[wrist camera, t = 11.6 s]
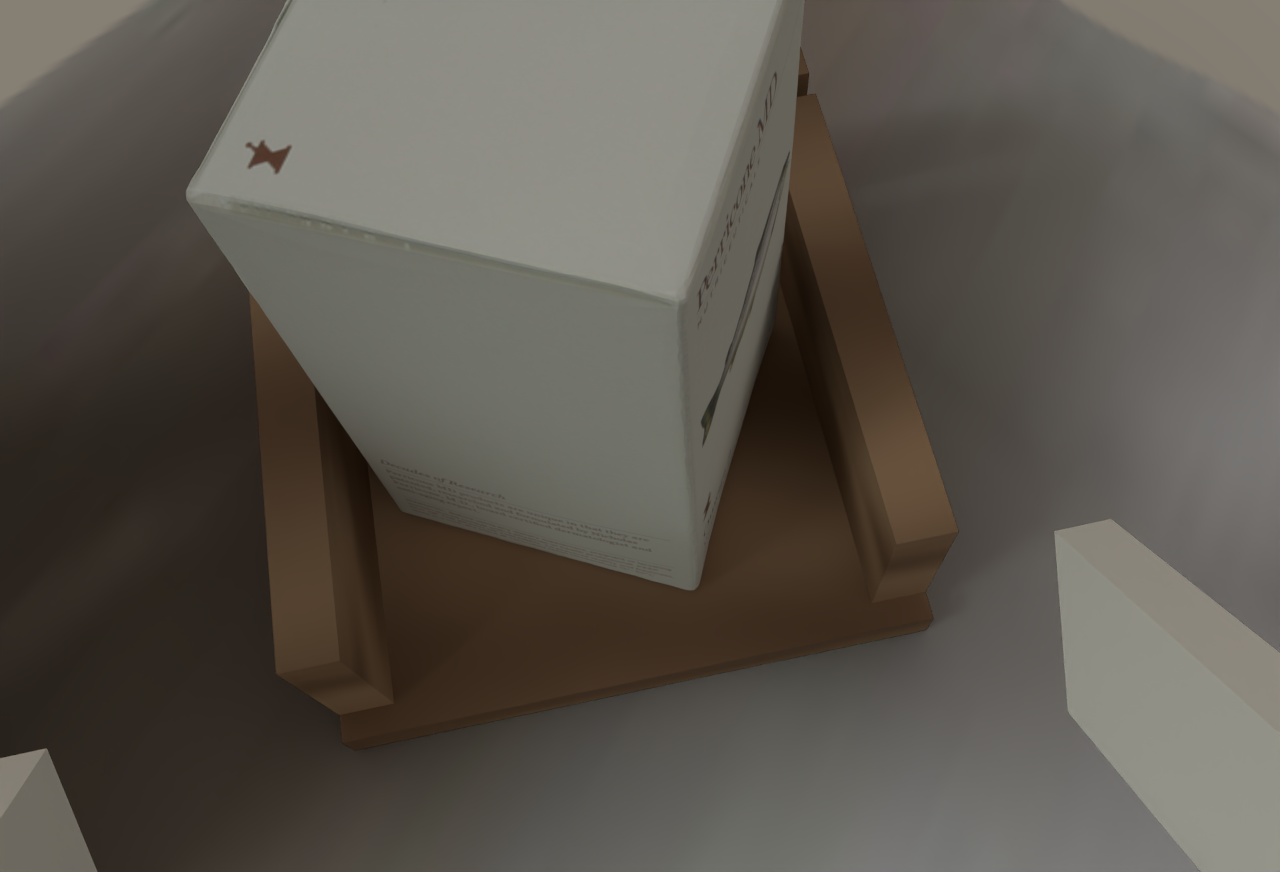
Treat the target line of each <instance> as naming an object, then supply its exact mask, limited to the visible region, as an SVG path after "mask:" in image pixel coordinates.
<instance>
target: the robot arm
mask: <svg viewBox="0 0 1280 872" xmlns="http://www.w3.org/2000/svg"><path fill="white" fill-rule="evenodd" d="M1054 535H1055V549H1056V562H1057V575H1058V588H1059V601H1060V614H1061V628H1062V641H1063V654H1064V667H1065V680H1066V693H1067V707H1068V713H1069V714H1070V715H1071V716H1072V718H1073V719H1074V720H1075V721H1076V722H1077V724H1078V725H1079V726H1080V727H1081V728H1082V730H1083V731H1084V732H1085V733H1086V734H1087V736H1088V737H1089V738H1090V739H1091V740H1092V742H1093V743H1094V744H1095V745H1096V746H1097V748H1098V749H1099V750H1100V751H1101V752H1102V754H1103V755H1104V756H1105V757H1106V758H1107V760H1108V761H1109V762H1110V763H1111V764H1112V766H1113V767H1114V768H1115V769H1116V770H1117V772H1118V773H1119V774H1120V775H1121V776H1122V778H1123V779H1124V780H1125V781H1126V782H1127V784H1128V785H1129V786H1130V787H1131V788H1132V790H1133V791H1134V792H1135V793H1136V794H1137V796H1138V797H1139V798H1140V799H1141V800H1142V802H1143V803H1144V804H1145V805H1146V806H1147V808H1148V809H1149V810H1150V811H1151V812H1152V814H1153V815H1154V816H1155V817H1156V819H1157V820H1158V821H1159V822H1160V823H1161V825H1162V826H1163V827H1164V828H1165V829H1166V831H1167V832H1168V833H1169V834H1170V835H1171V837H1172V838H1173V839H1174V840H1175V841H1176V843H1177V844H1178V845H1179V846H1180V847H1181V849H1182V850H1183V851H1184V852H1185V853H1186V855H1187V856H1188V857H1189V858H1190V859H1191V861H1192V862H1193V863H1194V864H1195V865H1196V867H1197V868H1198V869H1199V870H1200V871H1201V872H1280V653H1279V652H1278V651H1277V650H1276V649H1274V648H1273V647H1272V646H1271V645H1269V644H1268V643H1267V642H1266V641H1264V640H1263V639H1262V638H1260V637H1259V636H1258V635H1257V634H1255V633H1254V632H1253V631H1252V630H1250V629H1249V628H1248V627H1247V626H1245V625H1244V624H1243V623H1242V622H1240V621H1239V620H1238V619H1237V618H1235V617H1234V616H1233V615H1232V614H1230V613H1229V612H1228V611H1226V610H1225V609H1224V608H1223V607H1221V606H1220V605H1219V604H1218V603H1216V602H1215V601H1214V600H1213V599H1211V598H1210V597H1209V596H1208V595H1206V594H1205V593H1204V592H1203V591H1201V590H1200V589H1199V588H1197V587H1196V586H1195V585H1194V584H1192V583H1191V582H1190V581H1189V580H1187V579H1186V578H1185V577H1184V576H1182V575H1181V574H1180V573H1179V572H1177V571H1176V570H1175V569H1174V568H1172V567H1171V566H1170V565H1168V564H1167V563H1166V562H1165V561H1163V560H1162V559H1161V558H1160V557H1158V556H1157V555H1156V554H1155V553H1153V552H1152V551H1151V550H1150V549H1148V548H1147V547H1146V546H1145V545H1143V544H1142V543H1141V542H1140V541H1138V540H1137V539H1136V538H1134V537H1133V536H1132V535H1131V534H1129V533H1128V532H1127V531H1126V530H1124V529H1123V528H1122V527H1121V526H1119V525H1118V524H1117V523H1116V522H1114V521H1113V520H1112V519H1108V520H1103V521H1099V522H1094V523H1089V524H1085V525H1080V526H1075V527H1071V528H1066V529H1062V530H1057V531H1054ZM0 872H97V870H96V867H95V865H94V862H93V860H92V858H91V855H90V853H89V850H88V848H87V845H86V843H85V840H84V838H83V836H82V833H81V831H80V828H79V826H78V823H77V821H76V818H75V816H74V813H73V811H72V809H71V806H70V804H69V801H68V799H67V796H66V794H65V791H64V789H63V787H62V784H61V782H60V779H59V777H58V774H57V772H56V769H55V767H54V765H53V762H52V760H51V757H50V755H49V752H48V750H47V748H46V749H41V750H36V751H32V752H27V753H22V754H18V755H13V756H8V757H4V758H0Z"/></svg>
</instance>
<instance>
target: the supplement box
mask: <svg viewBox="0 0 1280 872" xmlns="http://www.w3.org/2000/svg"><path fill="white" fill-rule="evenodd" d="M804 3H805V0H287V2H286V3H285V5H284V7H283V9H282V11H281V13H280V15H279V17H278V19H277V21H276V23H275V25H274V28H273V30H272V32H271V35H270V36H269V38H268V40H267V42H266V44H265V46H264V48H263V50H262V52H261V53H260V55H259V57H258V59H257V61H256V63H255V65H254V67H253V69H252V71H251V72H250V74H249V76H248V78H247V80H246V82H245V84H244V86H243V88H242V89H241V91H240V93H239V95H238V97H237V99H236V101H235V102H234V104H233V106H232V108H231V110H230V112H229V113H228V115H227V117H226V119H225V121H224V123H223V124H222V126H221V128H220V130H219V132H218V134H217V135H216V137H215V139H214V141H213V143H212V145H211V147H210V149H209V151H208V153H207V154H206V156H205V158H204V160H203V162H202V164H201V165H200V167H199V169H198V170H197V172H196V173H195V175H194V176H193V178H192V179H191V181H190V183H189V186H188V188H187V190H186V200H187V201H188V203H189V204H190V206H191V207H192V209H193V211H194V212H195V214H196V215H197V216H198V218H199V219H200V221H201V222H202V224H203V225H204V227H205V228H206V230H207V231H208V232H209V234H210V235H211V237H212V238H213V240H214V241H215V242H216V244H217V245H218V247H219V248H220V250H221V251H222V252H223V254H224V255H225V257H226V258H227V259H228V261H229V262H230V263H231V265H232V266H233V268H234V270H235V271H236V273H237V274H238V276H239V277H240V279H241V280H242V282H243V283H244V285H245V286H246V288H247V289H248V291H249V292H250V293H251V295H252V296H253V297H254V299H255V300H256V301H257V303H258V304H259V305H260V307H261V309H262V310H263V312H264V313H265V315H266V316H267V317H268V319H269V320H270V322H271V323H272V325H273V326H274V328H275V329H276V330H277V332H278V333H279V335H280V336H281V338H282V339H283V340H284V342H285V343H286V345H287V346H288V348H289V349H290V350H291V352H292V353H293V355H294V356H295V358H296V359H297V361H298V362H299V364H300V365H301V367H302V368H303V370H304V371H305V373H306V374H307V376H308V377H309V379H310V380H311V381H312V383H313V384H314V386H315V387H316V388H317V390H318V391H319V393H320V394H321V396H322V397H323V399H324V400H325V402H326V403H327V404H328V406H329V407H330V409H331V410H332V412H333V413H334V415H335V416H336V417H337V419H338V420H339V422H340V423H341V425H342V426H343V427H344V429H345V430H346V432H347V433H348V434H349V436H350V437H351V439H352V440H353V442H354V443H355V445H356V446H357V448H358V449H359V451H360V452H361V453H362V455H363V456H364V458H365V459H366V461H367V462H368V464H369V465H370V466H371V468H372V469H373V471H374V472H375V474H376V475H377V477H378V478H379V480H380V481H381V483H382V484H383V485H384V487H385V488H386V490H387V491H388V493H389V494H390V495H391V497H392V498H393V500H394V501H395V503H396V504H397V506H398V507H399V509H400V510H401V511H402V512H405V513H408V514H412V515H415V516H418V517H422V518H426V519H430V520H433V521H437V522H440V523H444V524H447V525H450V526H454V527H458V528H462V529H465V530H469V531H473V532H477V533H480V534H484V535H488V536H492V537H495V538H498V539H501V540H505V541H508V542H511V543H515V544H519V545H523V546H527V547H531V548H535V549H538V550H542V551H545V552H549V553H552V554H556V555H559V556H563V557H567V558H571V559H574V560H578V561H582V562H586V563H590V564H593V565H596V566H600V567H603V568H607V569H610V570H614V571H618V572H622V573H626V574H630V575H634V576H638V577H641V578H644V579H647V580H651V581H655V582H659V583H663V584H667V585H671V586H674V587H678V588H681V589H685V590H695V589H696V588H697V587H698V586H699V584H700V579H701V575H702V571H703V566H704V562H705V558H706V553H707V549H708V545H709V540H710V536H711V533H712V529H713V525H714V521H715V517H716V513H717V510H718V506H719V502H720V498H721V494H722V491H723V487H724V484H725V481H726V477H727V474H728V471H729V467H730V464H731V461H732V457H733V454H734V451H735V447H736V444H737V441H738V437H739V434H740V431H741V427H742V424H743V421H744V417H745V414H746V410H747V407H748V404H749V400H750V397H751V394H752V390H753V387H754V384H755V380H756V377H757V374H758V371H759V368H760V365H761V362H762V359H763V356H764V353H765V350H766V347H767V344H768V342H769V339H770V336H771V333H772V330H773V327H774V324H775V321H776V311H777V298H778V289H779V280H780V270H781V260H782V251H783V242H784V231H785V221H786V211H787V200H788V191H789V180H790V169H791V159H792V148H793V137H794V125H795V112H796V99H797V86H798V73H799V59H800V45H801V36H802V25H803V13H804Z"/></svg>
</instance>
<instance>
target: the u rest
mask: <svg viewBox="0 0 1280 872" xmlns="http://www.w3.org/2000/svg"><path fill="white" fill-rule="evenodd" d="M808 79H809V71H808V68H807V65H806V62H805V59H804V56H803V53H802V50H801V47H800V59H799V73H798V86H797V99H796V112H795V125H794V137H793V148H792V159H791V169H790V180H789V191H788V200H787V211H786V221H785V231H784V242H783V251H782V260H781V270H780V280H779V289H778V298H777V311H776V321H775V324H774V327H773V330H772V333H771V336H770V339H769V342H768V344H767V347H766V350H765V353H764V356H763V359H762V362H761V365H760V368H759V371H758V374H757V377H756V380H755V384H754V387H753V390H752V394H751V397H750V400H749V404H748V407H747V410H746V414H745V417H744V421H743V424H742V427H741V431H740V434H739V437H738V441H737V444H736V447H735V451H734V454H733V457H732V461H731V464H730V467H729V471H728V474H727V477H726V481H725V484H724V487H723V491H722V494H721V498H720V502H719V506H718V510H717V513H716V517H715V521H714V525H713V529H712V533H711V536H710V540H709V545H708V549H707V553H706V558H705V562H704V566H703V571H702V575H701V579H700V584H699V586H698V587H697V588H696V589H695V590H685V589H681V588H678V587H674V586H671V585H667V584H663V583H659V582H655V581H651V580H647V579H644V578H641V577H638V576H634V575H630V574H626V573H622V572H618V571H614V570H610V569H607V568H603V567H600V566H596V565H593V564H590V563H586V562H582V561H578V560H574V559H571V558H567V557H563V556H559V555H556V554H552V553H549V552H545V551H542V550H538V549H535V548H531V547H527V546H523V545H519V544H515V543H511V542H508V541H505V540H501V539H498V538H495V537H492V536H488V535H484V534H480V533H477V532H473V531H469V530H465V529H462V528H458V527H454V526H450V525H447V524H444V523H440V522H437V521H433V520H430V519H426V518H422V517H418V516H415V515H412V514H408V513H405V512H402V511H401V510H400V509H399V507H398V506H397V504H396V503H395V501H394V500H393V498H392V497H391V495H390V494H389V493H388V491H387V490H386V488H385V487H384V485H383V484H382V483H381V481H380V480H379V478H378V477H377V475H376V474H375V472H374V471H373V469H372V468H371V466H370V465H369V464H368V462H367V461H366V459H365V458H364V456H363V455H362V453H361V452H360V451H359V449H358V448H357V446H356V445H355V443H354V442H353V440H352V439H351V437H350V436H349V434H348V433H347V432H346V430H345V429H344V427H343V426H342V425H341V423H340V422H339V420H338V419H337V417H336V416H335V415H334V413H333V412H332V410H331V409H330V407H329V406H328V404H327V403H326V402H325V400H324V399H323V397H322V396H321V394H320V393H319V391H318V390H317V388H316V387H315V386H314V384H313V383H312V381H311V380H310V379H309V377H308V376H307V374H306V373H305V371H304V370H303V368H302V367H301V365H300V364H299V362H298V361H297V359H296V358H295V356H294V355H293V353H292V352H291V350H290V349H289V348H288V346H287V345H286V343H285V342H284V340H283V339H282V338H281V336H280V335H279V333H278V332H277V330H276V329H275V328H274V326H273V325H272V323H271V322H270V320H269V319H268V317H267V316H266V315H265V313H264V312H263V310H262V309H261V307H260V305H259V304H258V303H257V301H256V300H255V299H254V297H253V296H252V295H251V293H250V292H249V297H250V311H251V325H252V339H253V354H254V368H255V382H256V396H257V410H258V425H259V439H260V453H261V467H262V482H263V496H264V510H265V524H266V538H267V553H268V567H269V581H270V595H271V609H272V624H273V638H274V652H275V666H276V675H278V676H279V677H281V678H283V679H284V680H286V681H287V682H289V683H290V684H292V685H293V686H295V687H297V688H298V689H300V690H301V691H303V692H304V693H306V694H307V695H309V696H311V697H312V698H314V699H315V700H317V701H318V702H320V703H321V704H323V705H325V706H326V707H328V708H329V709H331V710H332V711H334V712H335V713H337V714H339V716H340V727H341V737H342V743H343V744H345V745H347V746H348V747H350V748H352V749H354V750H359V749H364V748H369V747H373V746H378V745H383V744H388V743H392V742H397V741H402V740H407V739H411V738H416V737H421V736H426V735H430V734H435V733H440V732H445V731H449V730H454V729H459V728H463V727H468V726H473V725H478V724H482V723H487V722H492V721H497V720H501V719H506V718H511V717H516V716H520V715H525V714H530V713H535V712H539V711H544V710H549V709H554V708H558V707H563V706H568V705H572V704H577V703H582V702H587V701H591V700H596V699H601V698H606V697H610V696H615V695H620V694H625V693H629V692H634V691H639V690H644V689H648V688H653V687H658V686H663V685H667V684H672V683H677V682H681V681H686V680H691V679H696V678H700V677H705V676H710V675H715V674H719V673H724V672H729V671H734V670H738V669H743V668H748V667H753V666H757V665H762V664H767V663H772V662H776V661H781V660H786V659H791V658H795V657H800V656H805V655H809V654H814V653H819V652H824V651H828V650H833V649H838V648H843V647H847V646H852V645H857V644H862V643H866V642H871V641H876V640H881V639H885V638H890V637H895V636H900V635H904V634H909V633H914V632H918V631H923V630H927V628H928V626H929V625H930V623H931V622H932V620H933V614H932V611H931V608H930V605H929V601H928V598H927V595H926V590H927V588H928V587H929V585H930V583H931V581H932V579H933V577H934V576H935V574H936V572H937V570H938V568H939V567H940V565H941V563H942V561H943V559H944V557H945V556H946V554H947V552H948V550H949V548H950V547H951V545H952V543H953V541H954V539H955V537H956V536H957V534H958V532H959V531H958V527H957V524H956V521H955V518H954V515H953V512H952V509H951V506H950V503H949V500H948V497H947V494H946V491H945V488H944V485H943V482H942V478H941V475H940V472H939V469H938V466H937V463H936V460H935V457H934V454H933V451H932V448H931V445H930V442H929V439H928V436H927V433H926V429H925V426H924V423H923V420H922V417H921V414H920V411H919V408H918V405H917V402H916V399H915V396H914V393H913V390H912V387H911V384H910V380H909V377H908V374H907V371H906V368H905V365H904V362H903V359H902V356H901V353H900V350H899V347H898V344H897V341H896V338H895V335H894V331H893V328H892V325H891V322H890V319H889V316H888V313H887V310H886V307H885V304H884V301H883V298H882V295H881V292H880V289H879V286H878V282H877V279H876V276H875V273H874V270H873V267H872V264H871V261H870V258H869V255H868V252H867V249H866V246H865V243H864V240H863V237H862V233H861V230H860V227H859V224H858V221H857V218H856V215H855V212H854V209H853V206H852V203H851V200H850V197H849V194H848V191H847V188H846V184H845V181H844V178H843V175H842V172H841V169H840V166H839V163H838V160H837V157H836V154H835V151H834V148H833V145H832V142H831V139H830V136H829V132H828V129H827V126H826V123H825V120H824V117H823V114H822V111H821V108H820V105H819V102H818V99H817V96H816V94H811V95H807V89H808Z"/></svg>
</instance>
